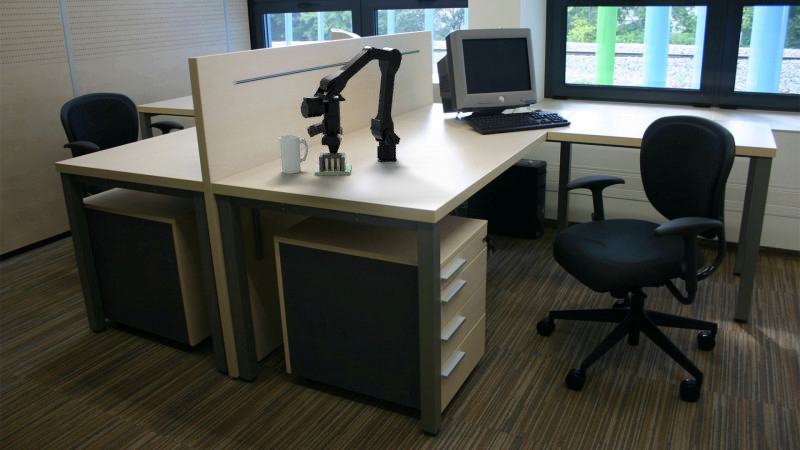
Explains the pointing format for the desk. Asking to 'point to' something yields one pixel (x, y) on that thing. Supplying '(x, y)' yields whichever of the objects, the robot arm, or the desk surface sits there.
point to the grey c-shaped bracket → (329, 157)
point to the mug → (292, 153)
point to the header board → (332, 170)
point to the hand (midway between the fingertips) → (333, 159)
